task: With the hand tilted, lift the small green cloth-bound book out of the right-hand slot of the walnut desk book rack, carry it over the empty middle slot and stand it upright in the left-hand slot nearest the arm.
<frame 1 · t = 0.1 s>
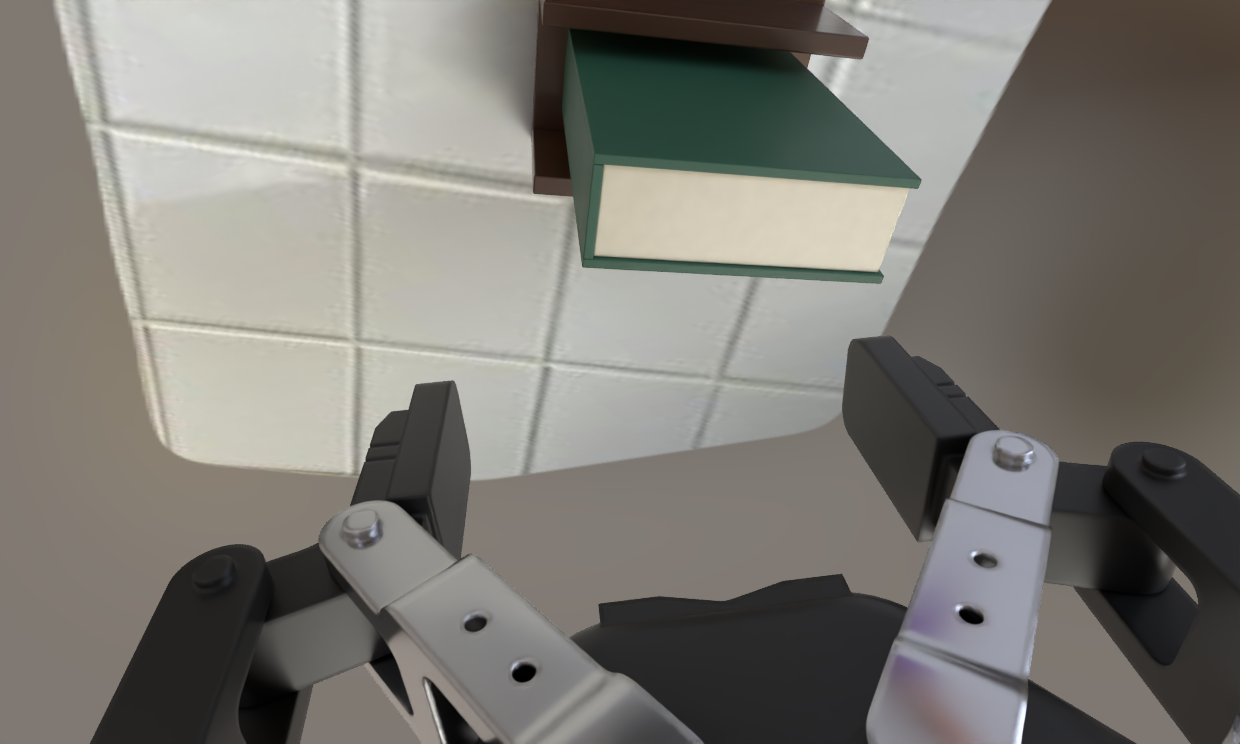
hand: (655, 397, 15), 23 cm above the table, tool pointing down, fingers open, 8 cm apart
book: (672, 78, 32), point 1 cm above the table, touching rack
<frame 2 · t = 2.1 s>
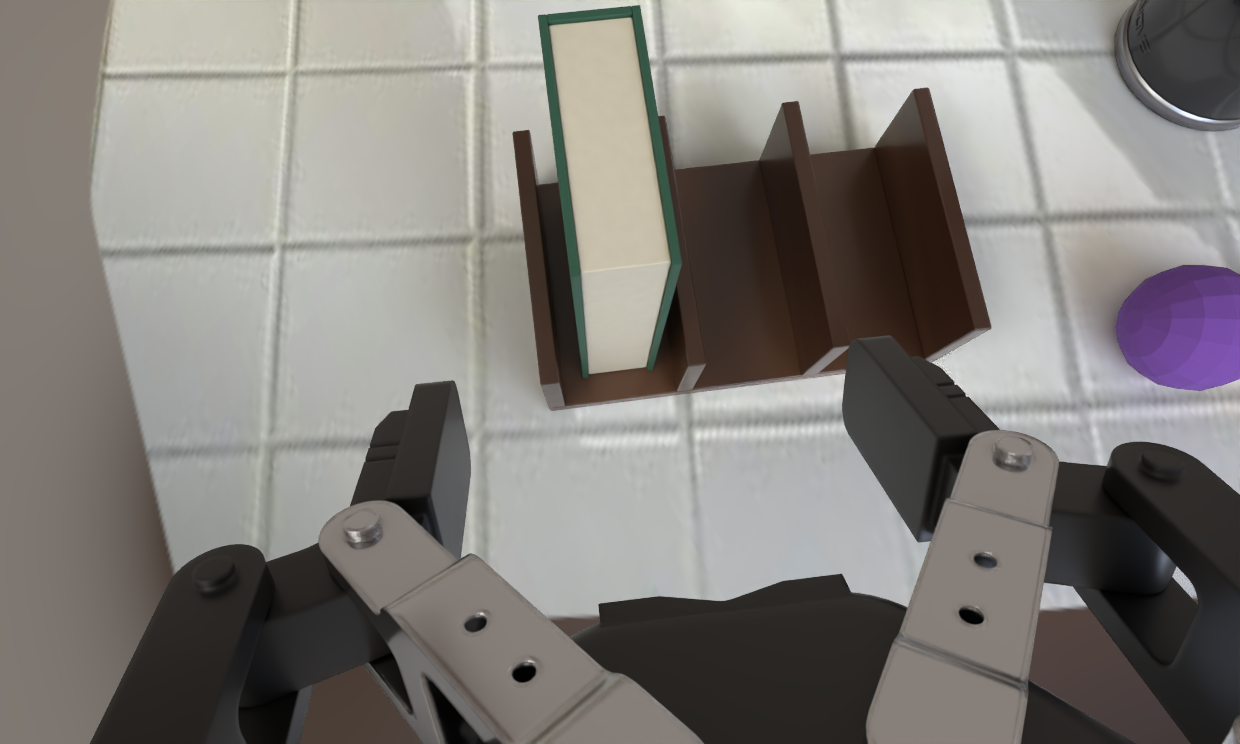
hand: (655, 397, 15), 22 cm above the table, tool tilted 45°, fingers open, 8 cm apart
rack: (724, 275, 39), on the table
book: (605, 284, 38), point 1 cm above the table, touching rack
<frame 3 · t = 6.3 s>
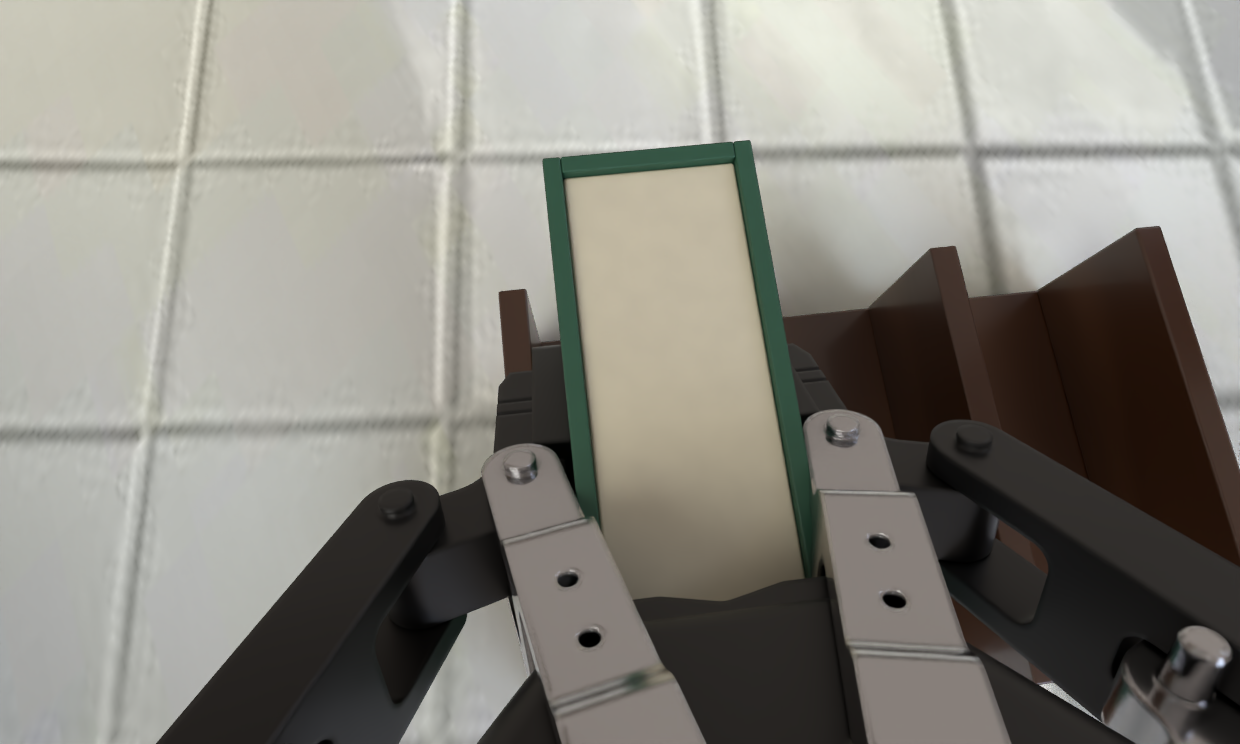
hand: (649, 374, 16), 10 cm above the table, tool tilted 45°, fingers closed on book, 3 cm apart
rack: (816, 485, 26), on the table
book: (639, 504, 25), point 1 cm above the table, touching gripper, rack
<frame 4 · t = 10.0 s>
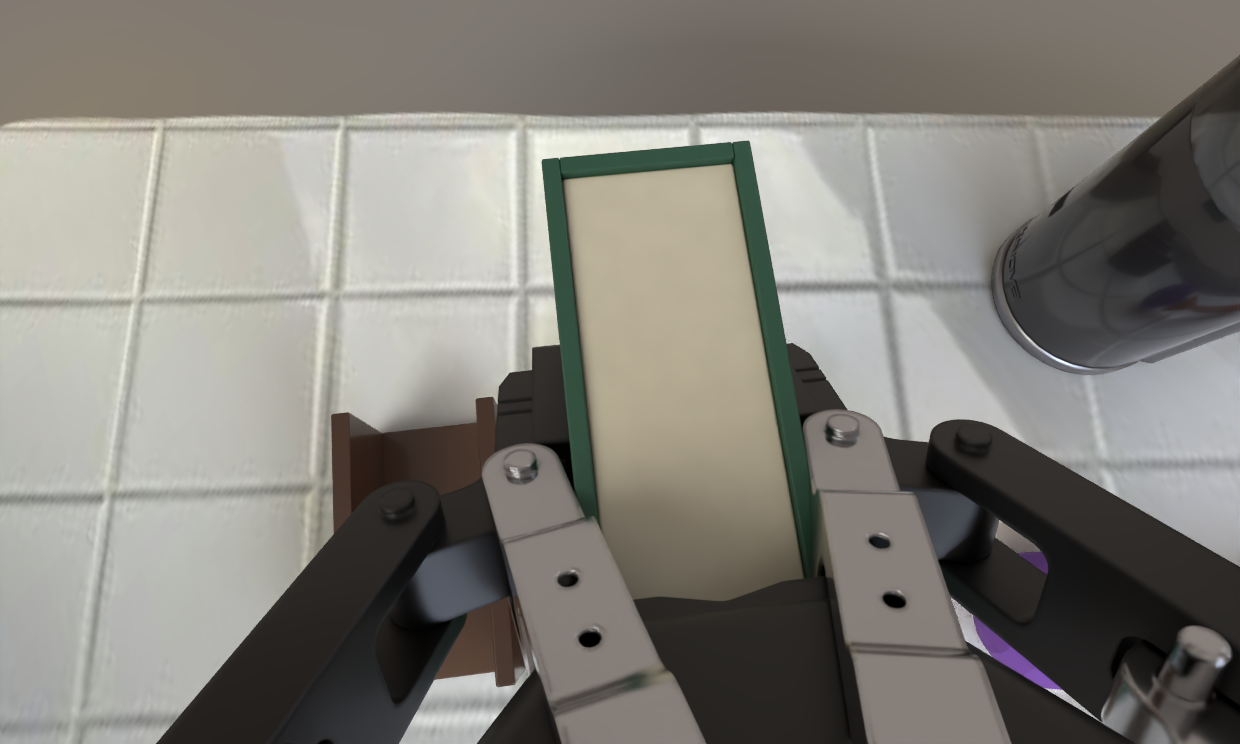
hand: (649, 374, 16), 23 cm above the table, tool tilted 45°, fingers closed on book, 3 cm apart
rack: (573, 532, 37), on the table
kendama: (1148, 626, 37), on the table
book: (639, 504, 25), point 13 cm above the table, touching gripper
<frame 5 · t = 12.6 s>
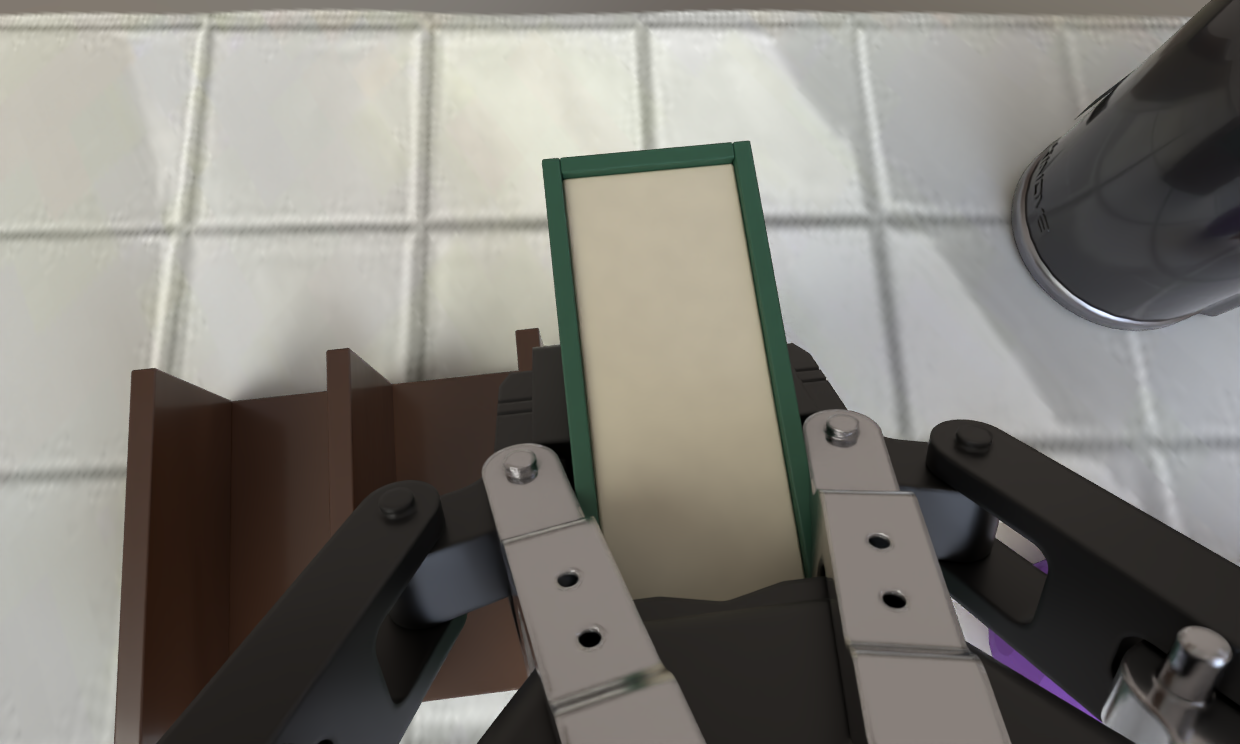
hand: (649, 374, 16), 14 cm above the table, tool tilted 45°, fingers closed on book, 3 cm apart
rack: (475, 527, 29), on the table
kendama: (1213, 650, 29), on the table
book: (639, 504, 25), point 5 cm above the table, touching gripper
when the fingers open (10 cm above the table, at t = 14.1 s): book stays where it is, resting on rack.
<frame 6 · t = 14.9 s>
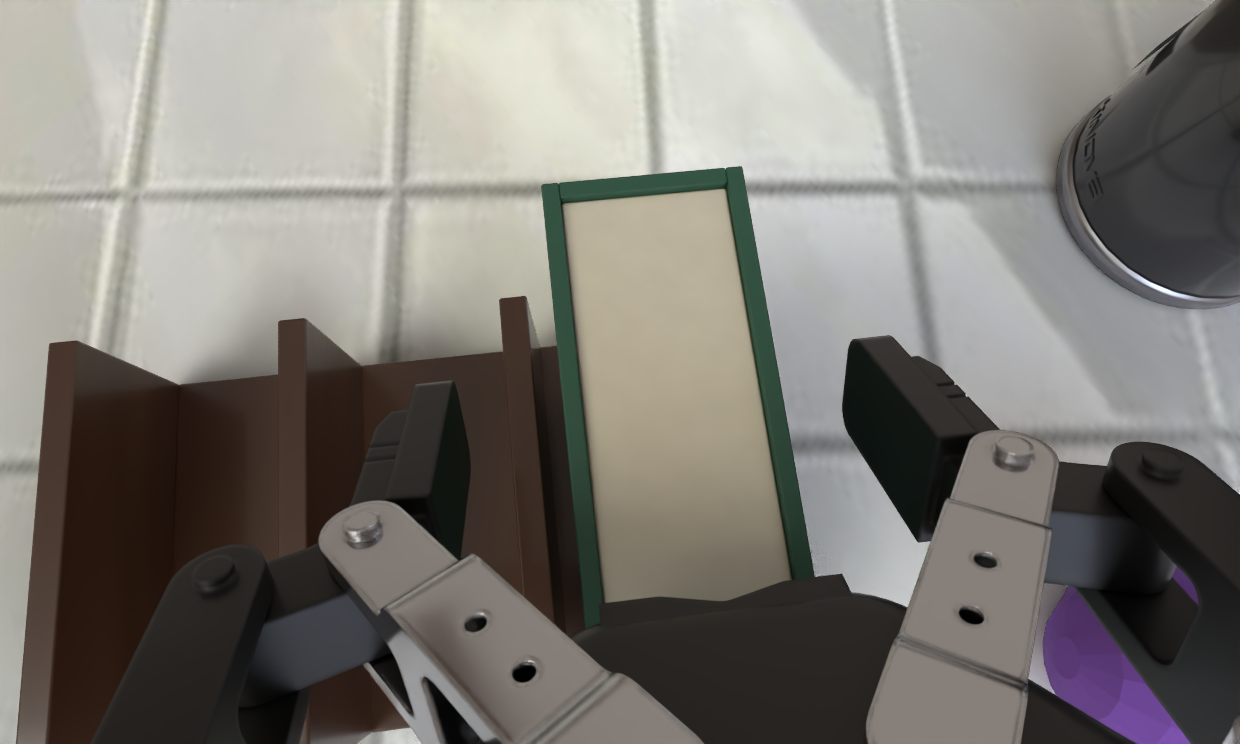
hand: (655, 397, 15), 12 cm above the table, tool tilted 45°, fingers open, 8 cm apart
rack: (454, 529, 25), on the table
book: (636, 511, 25), point 1 cm above the table, touching rack
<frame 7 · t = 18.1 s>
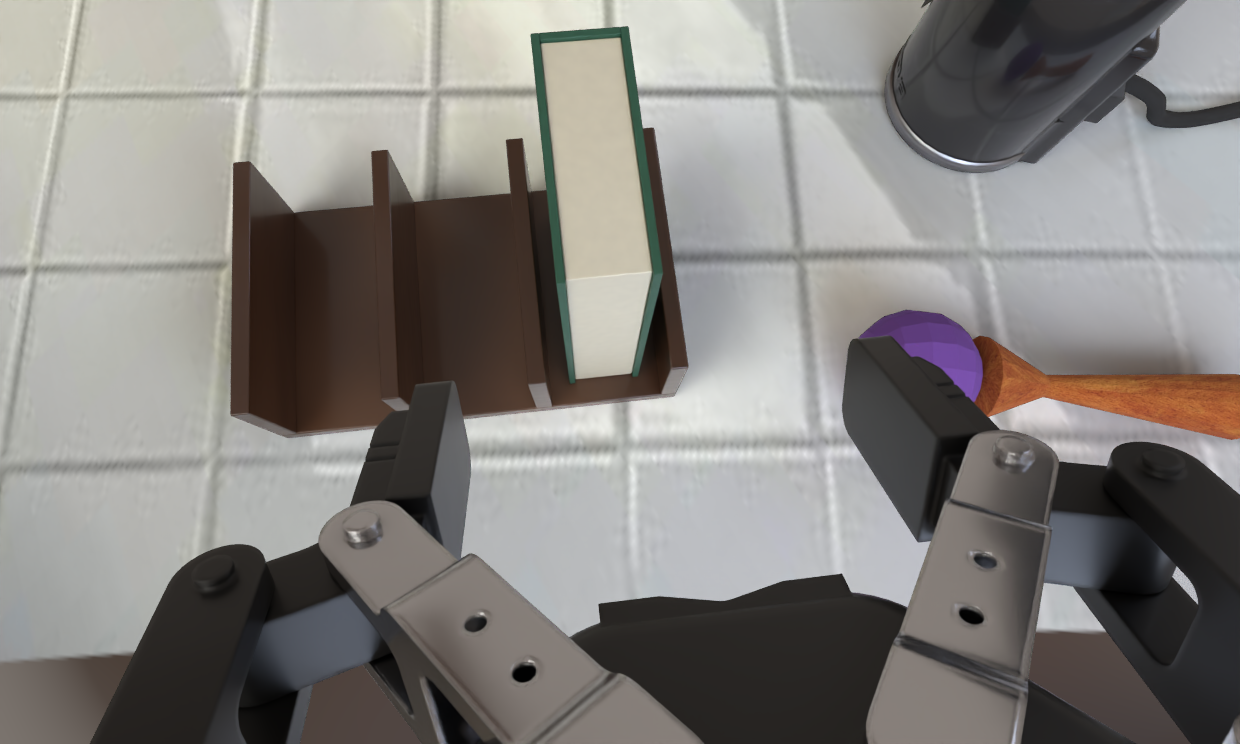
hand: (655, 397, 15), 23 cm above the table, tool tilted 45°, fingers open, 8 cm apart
rack: (475, 306, 39), on the table
kendama: (1019, 397, 39), on the table
book: (593, 292, 39), point 1 cm above the table, touching rack
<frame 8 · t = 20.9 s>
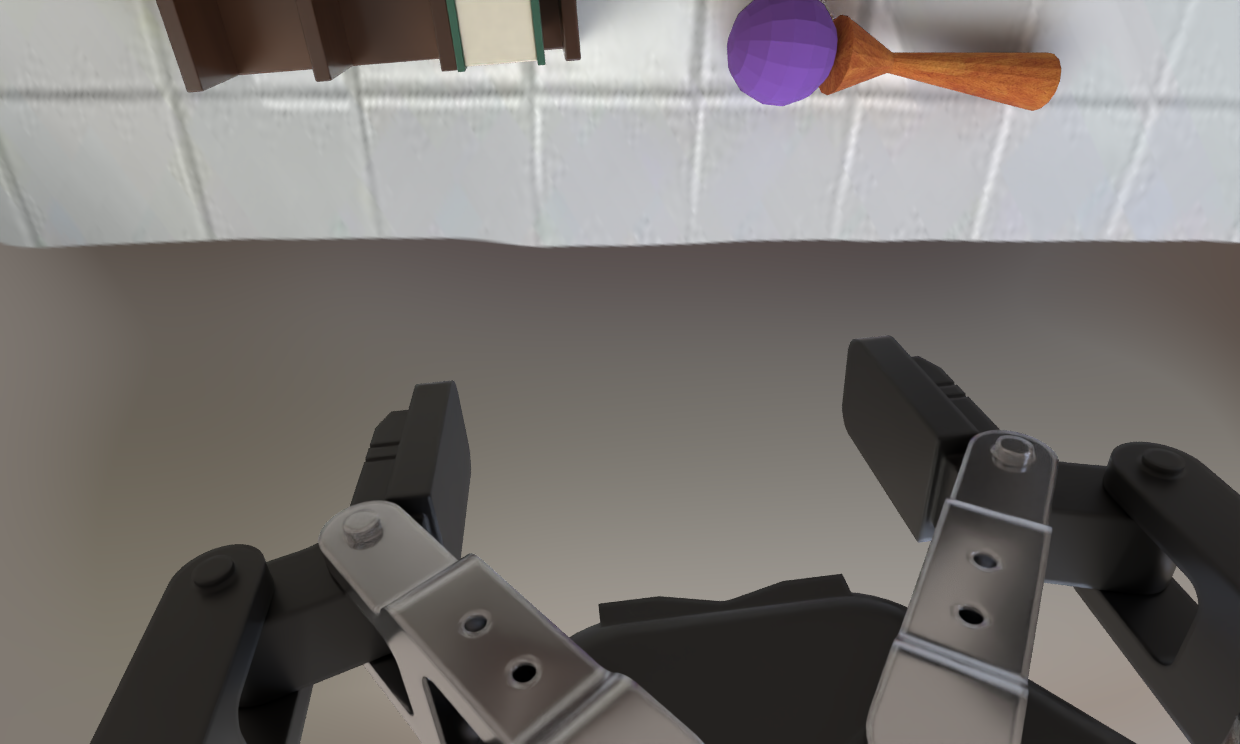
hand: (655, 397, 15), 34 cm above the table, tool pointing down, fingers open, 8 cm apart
kendama: (875, 57, 45), on the table
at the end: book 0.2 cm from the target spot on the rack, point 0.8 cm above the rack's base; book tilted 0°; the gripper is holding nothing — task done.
